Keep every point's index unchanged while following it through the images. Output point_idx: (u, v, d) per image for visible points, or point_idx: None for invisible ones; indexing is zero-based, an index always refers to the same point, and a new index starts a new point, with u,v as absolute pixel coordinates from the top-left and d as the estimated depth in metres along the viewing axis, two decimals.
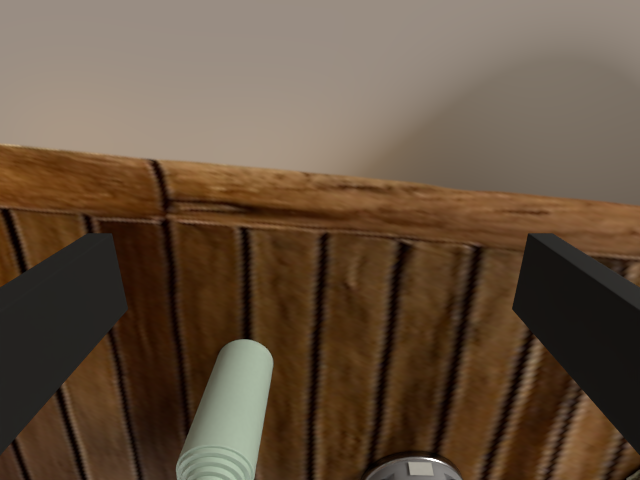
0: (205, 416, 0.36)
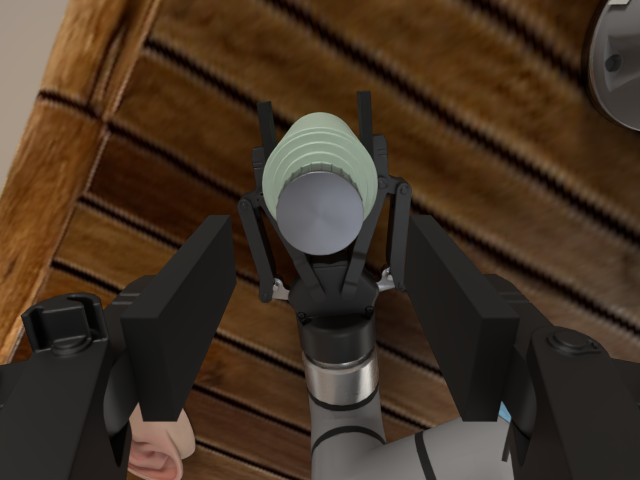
0: None
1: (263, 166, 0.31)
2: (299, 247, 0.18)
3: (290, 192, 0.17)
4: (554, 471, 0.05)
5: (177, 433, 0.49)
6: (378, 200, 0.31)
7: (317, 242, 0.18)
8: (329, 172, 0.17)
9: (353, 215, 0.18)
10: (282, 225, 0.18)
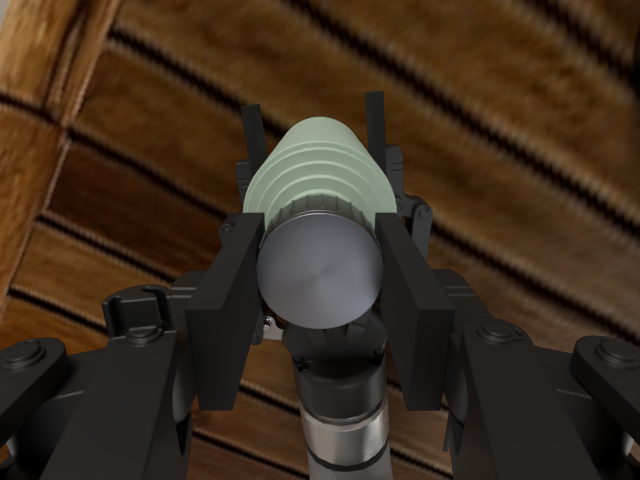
0: None
1: None
2: (290, 318, 0.13)
3: (276, 242, 0.12)
4: (481, 460, 0.05)
5: None
6: None
7: (316, 311, 0.13)
8: (334, 213, 0.12)
9: (369, 275, 0.12)
10: (264, 288, 0.12)
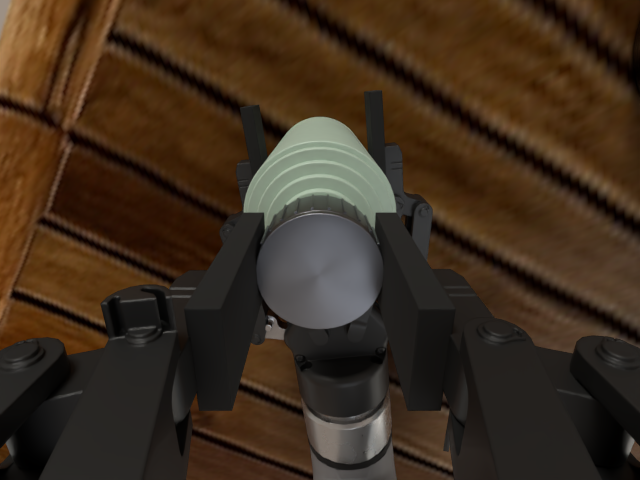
0: None
1: None
2: (378, 259, 0.12)
3: (328, 321, 0.13)
4: (482, 460, 0.05)
5: None
6: None
7: (352, 247, 0.12)
8: (270, 305, 0.13)
9: (282, 244, 0.12)
10: (370, 297, 0.12)
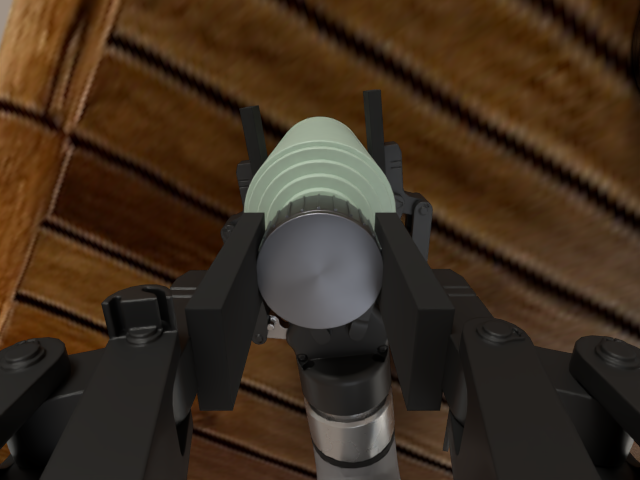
0: None
1: None
2: (264, 251, 0.12)
3: (350, 231, 0.12)
4: (481, 460, 0.05)
5: None
6: None
7: (276, 275, 0.12)
8: None
9: (324, 316, 0.13)
10: (296, 224, 0.12)
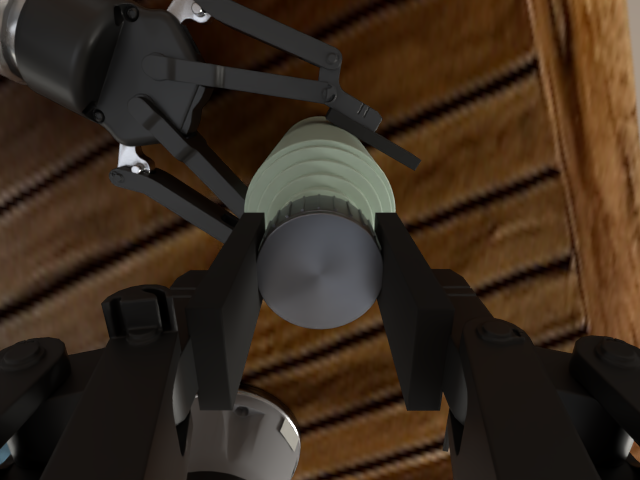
0: (361, 145, 0.20)
1: (357, 116, 0.24)
2: (264, 251, 0.12)
3: (350, 231, 0.12)
4: (481, 460, 0.05)
5: None
6: None
7: (276, 275, 0.12)
8: None
9: (324, 316, 0.13)
10: (296, 224, 0.12)
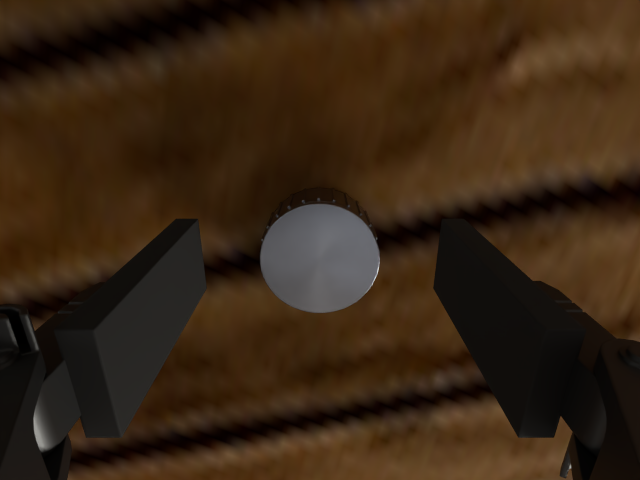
0: None
1: None
2: (268, 239, 0.13)
3: (348, 221, 0.13)
4: None
5: None
6: None
7: (279, 262, 0.13)
8: None
9: (324, 301, 0.14)
10: (298, 213, 0.12)
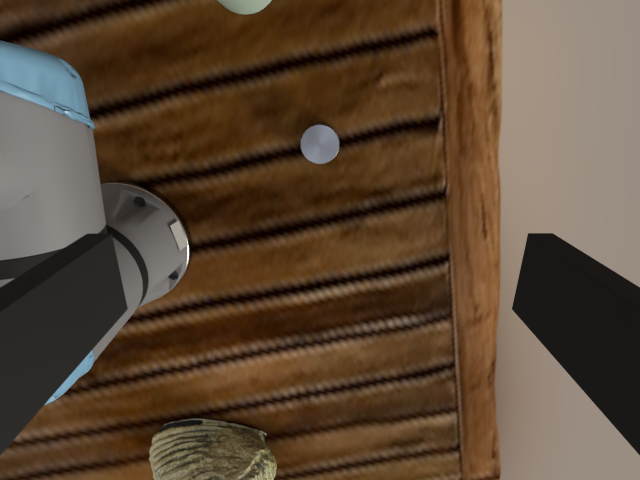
0: None
1: None
2: (303, 136, 0.40)
3: (328, 130, 0.40)
4: None
5: None
6: None
7: (306, 145, 0.41)
8: (338, 146, 0.41)
9: (321, 159, 0.41)
10: (313, 128, 0.40)
